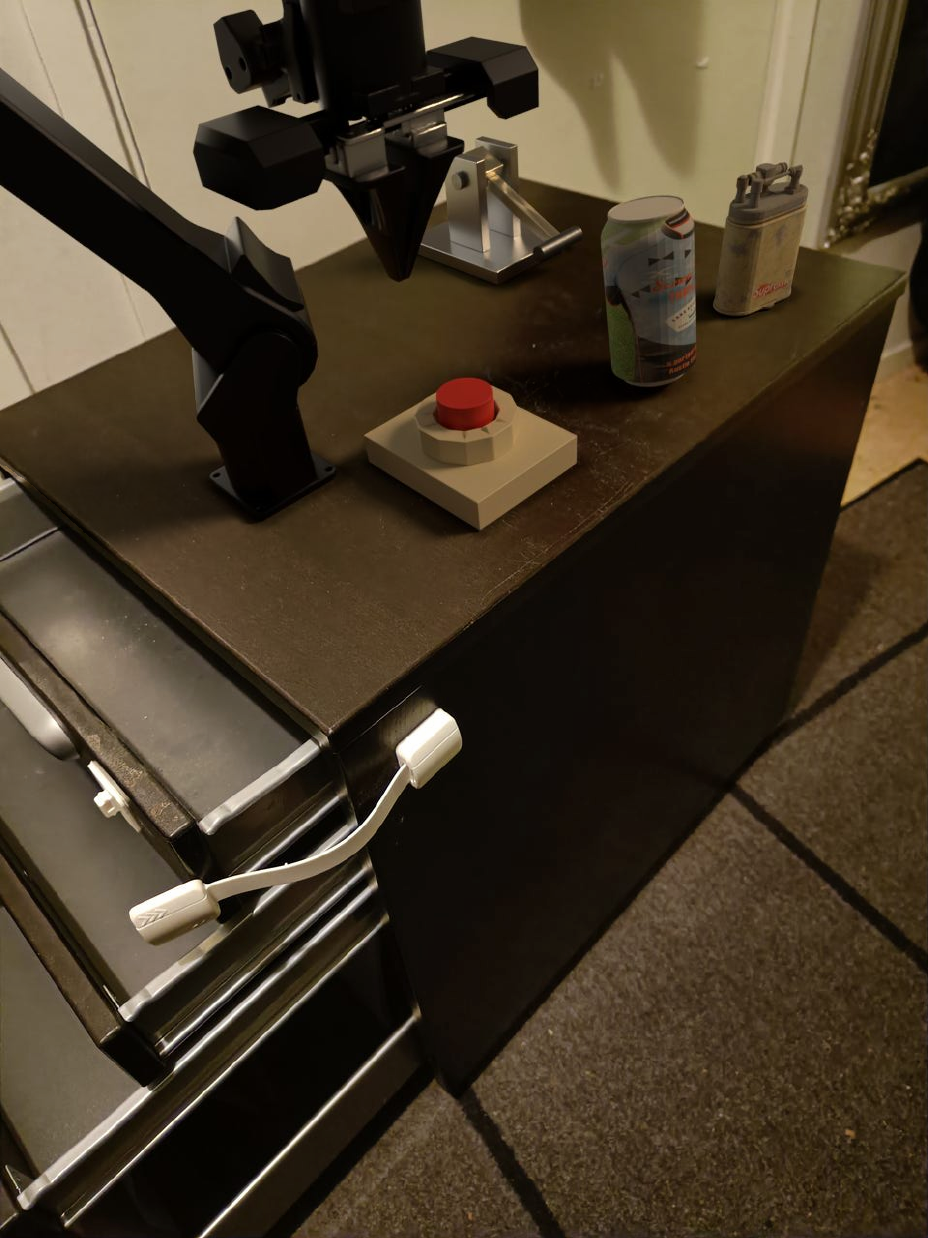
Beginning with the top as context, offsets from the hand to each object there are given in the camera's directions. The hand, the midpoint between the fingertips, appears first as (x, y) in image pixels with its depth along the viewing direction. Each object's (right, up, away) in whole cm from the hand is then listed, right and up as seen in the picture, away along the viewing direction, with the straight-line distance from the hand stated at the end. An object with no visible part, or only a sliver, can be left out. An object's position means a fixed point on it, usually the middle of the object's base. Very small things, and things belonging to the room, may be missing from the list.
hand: (399, 278), depth 49 cm
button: (+4, -7, +4) cm, 9 cm away
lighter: (+27, +6, +19) cm, 34 cm away
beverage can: (+17, -2, +13) cm, 22 cm away
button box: (+4, -10, +7) cm, 13 cm away
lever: (+8, +16, +25) cm, 30 cm away
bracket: (+6, +15, +29) cm, 33 cm away
